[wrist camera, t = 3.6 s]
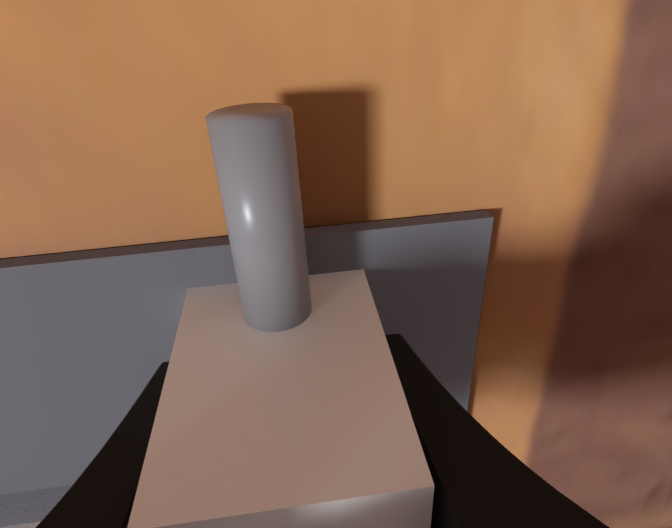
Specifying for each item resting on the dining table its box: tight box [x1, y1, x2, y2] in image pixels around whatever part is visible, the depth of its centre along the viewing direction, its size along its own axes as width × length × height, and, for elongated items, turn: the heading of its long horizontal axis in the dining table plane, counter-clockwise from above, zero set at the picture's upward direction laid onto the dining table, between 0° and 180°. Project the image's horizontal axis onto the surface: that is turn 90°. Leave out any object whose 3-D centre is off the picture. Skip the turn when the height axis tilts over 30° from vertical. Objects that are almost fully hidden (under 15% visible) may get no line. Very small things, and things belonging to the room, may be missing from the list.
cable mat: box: [0, 210, 494, 495], centre depth 14 cm, size 18×15×1 cm
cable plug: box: [127, 103, 434, 528], centre depth 8 cm, size 4×8×6 cm, turn 3°
